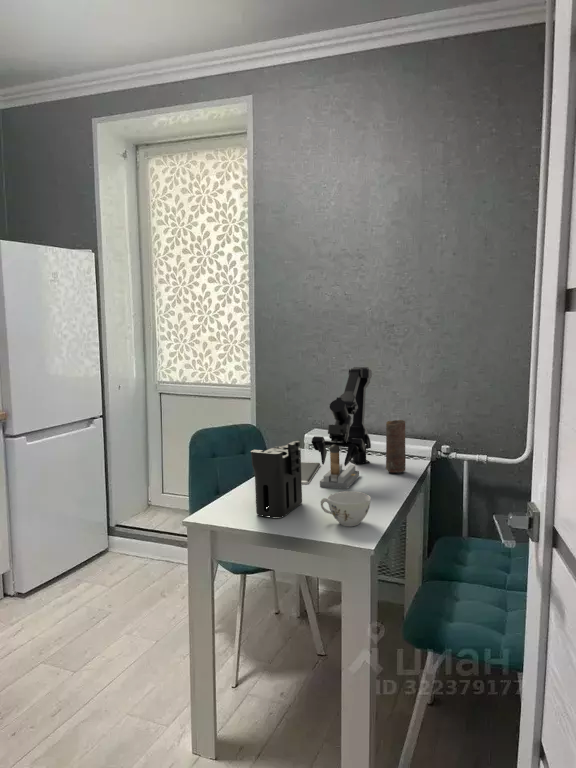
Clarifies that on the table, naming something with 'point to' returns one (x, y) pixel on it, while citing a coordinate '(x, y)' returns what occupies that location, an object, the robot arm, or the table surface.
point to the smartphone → (308, 471)
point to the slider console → (341, 478)
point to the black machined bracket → (277, 479)
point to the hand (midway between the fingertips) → (333, 464)
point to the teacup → (348, 507)
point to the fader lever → (334, 462)
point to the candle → (395, 446)
